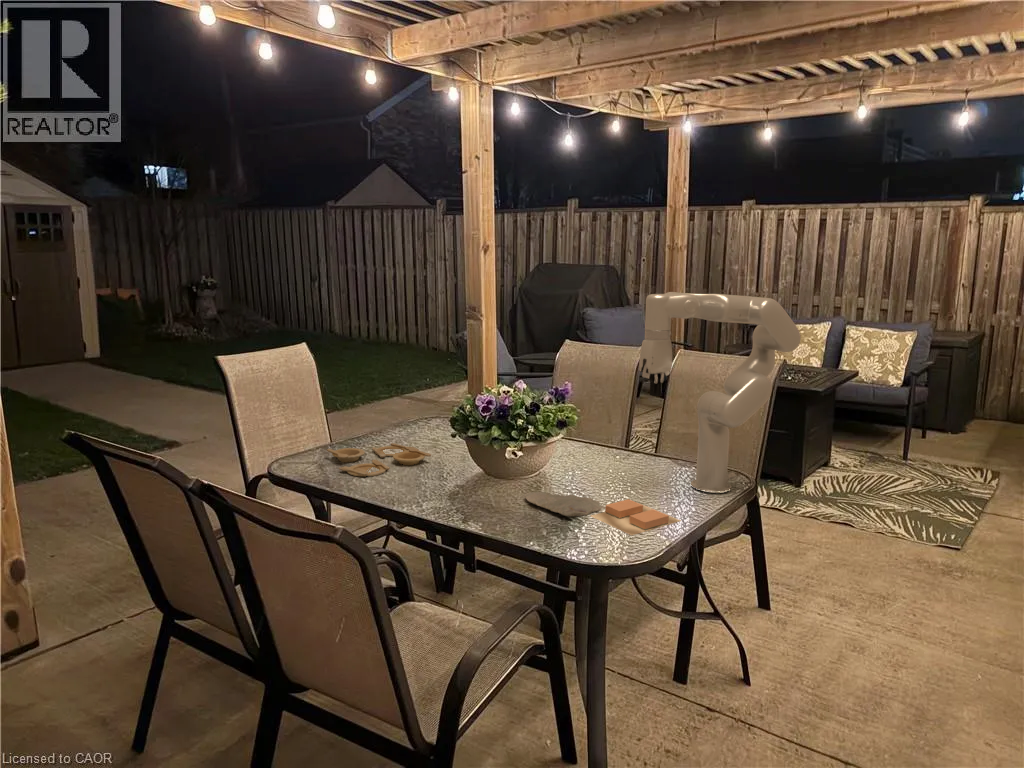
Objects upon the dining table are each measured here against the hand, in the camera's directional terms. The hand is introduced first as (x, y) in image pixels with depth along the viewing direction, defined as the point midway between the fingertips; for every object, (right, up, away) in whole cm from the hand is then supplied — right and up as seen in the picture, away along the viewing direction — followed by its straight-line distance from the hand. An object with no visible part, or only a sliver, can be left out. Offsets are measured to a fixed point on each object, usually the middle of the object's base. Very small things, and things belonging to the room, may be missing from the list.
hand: (655, 395), depth 218 cm
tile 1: (-8, -32, -10) cm, 34 cm away
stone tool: (-29, -34, -4) cm, 45 cm away
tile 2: (-2, -33, -18) cm, 38 cm away
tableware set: (-92, -25, +40) cm, 103 cm away
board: (-9, -35, -16) cm, 40 cm away
